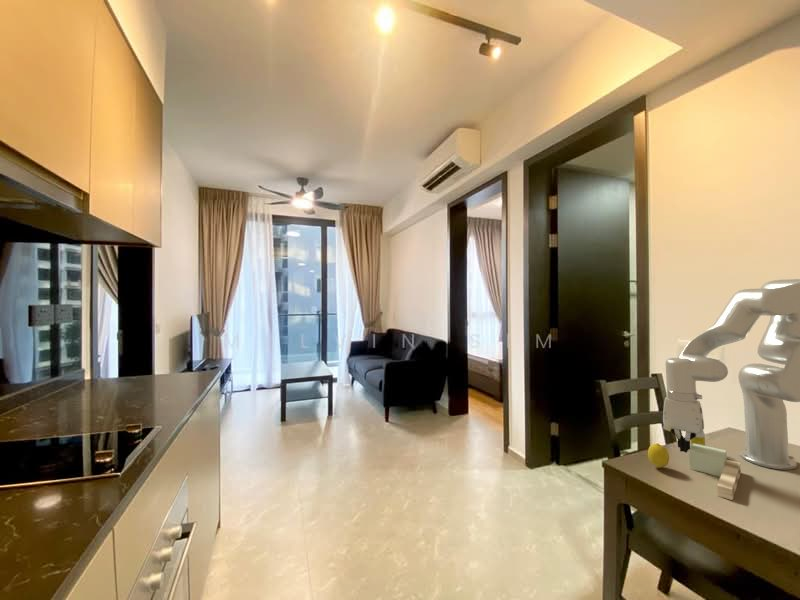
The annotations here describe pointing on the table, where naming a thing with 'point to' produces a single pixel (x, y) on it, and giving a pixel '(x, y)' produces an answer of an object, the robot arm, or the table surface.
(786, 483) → the table surface
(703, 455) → the block
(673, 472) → the table surface
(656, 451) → the lemon
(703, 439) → the supplement bottle
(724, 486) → the beige wavy bar
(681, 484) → the table surface
